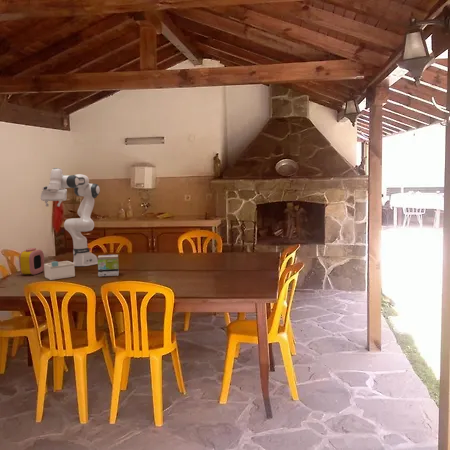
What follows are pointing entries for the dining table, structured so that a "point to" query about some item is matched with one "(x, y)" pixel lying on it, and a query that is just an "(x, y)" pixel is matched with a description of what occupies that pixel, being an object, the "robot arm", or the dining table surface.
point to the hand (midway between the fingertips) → (52, 206)
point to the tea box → (108, 265)
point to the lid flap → (61, 270)
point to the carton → (48, 272)
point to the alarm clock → (31, 261)
